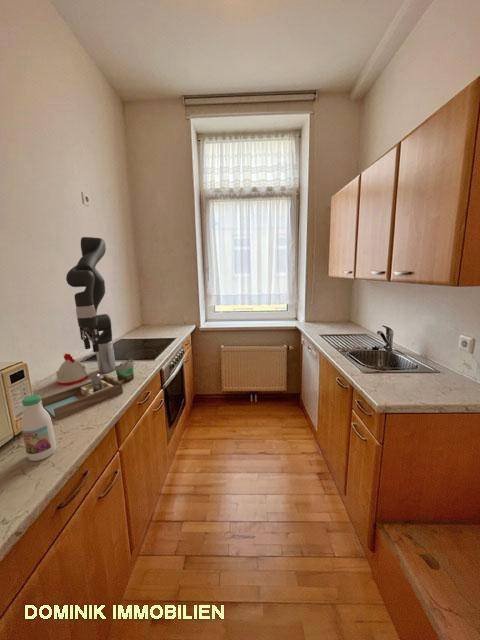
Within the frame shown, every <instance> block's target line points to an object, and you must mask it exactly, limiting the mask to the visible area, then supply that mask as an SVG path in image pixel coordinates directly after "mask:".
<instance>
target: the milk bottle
mask: <svg viewBox="0 0 480 640" xmlns="http://www.w3.org/2000/svg"><path fill="white" fill-rule="evenodd" d="M41 399H42V396H41V395H40V394H33V395H29V396H26V397H24V398H23V399H22V400H21V402H22V406H23V408H24V411H23V416H22V419H21V431H22V432H21V433H22V438H23V442H24V446H25V452H26V455H27V459H28V460H29V461H31V462H38V461H42V460H45V459H47V458H49V457H50V456H52V455H54V453H55V452H56V451H57V442H56V436H55V431H54V426H53V422H52V418H51V415H50V414H49V413H48V412H47V411H46V410H45V409H44V408H43V405H42V400H41Z"/></svg>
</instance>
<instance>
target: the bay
mask: <svg viewBox="0 0 480 640" xmlns="http://www.w3.org/2000/svg"><path fill="white" fill-rule="evenodd" d="M100 380H103V381H105V382H107V383H109V384H111V385H113V387H110V388H108V389H105V390H102V391H100V392H97V393H94V394H92V395H89V396H85V395H83V394H82V393H81V388H80V387H83V386H86V385H88V384H91V383H92V380H91V381H89V382H86V383H83V384H79V385H77V386H74V387H71V388H69V389H66V390H61V391H59V392H57V393H53V394H50V395H48V396H44V397H41V401H42V402H41V405H42V406H43V408H44V409H45V410H46V411H47V412H48V413H49V415H50V417H52V418H53V419H55V421H58V420H60V419H63V418H64V417H68V416H70V415H72V414H74V413H77V412H80V411H83V410H84V409H87V408H89V407H92V406H94V405H96V404H99V403H103V402H104V401H106V400H109V399H111V398H114V397H117V396H119V395H122V394H123V393H124V391H123V383H122V382H120V381H118V379H115V378H114V377H112V376H109V375H107V374H104V375H103V376H102V377H100Z"/></svg>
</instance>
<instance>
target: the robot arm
mask: <svg viewBox="0 0 480 640" xmlns="http://www.w3.org/2000/svg"><path fill="white" fill-rule="evenodd" d="M106 249H107V248H106V242H105V240H104V239H103V238H101V237H92V236H90V237H89V236H82V237H81V238H80V251H81V258H80V259H79V260H78V262H77V263H76V265H74V266H73V267H72V268H71V269H69V271H68V272H67V274H66V279H65V280H66V283H67V284H68V285H69V286H70V287H72V288H83V287H85V289H84V290H83V291H81V292H79V291H78V292H77V293H75V294H74V301H75V313H76V318H77V325H78V328H79V334H80V340H82V342H83V344H84V349H85V350H89V349H91V344H92V352H93V353H95V354H96V361H97V369H98V373H99V374H101V373H102V374H105V373H106V374H107V373H111V372H114V371H116V370H115V366H117V365H116V358H115V350H114V342H113V330H112V321H111V318H110V315H109V314H108V313H103V314H98V313H97V312H98V308H99V305H100V303H101V302H102V300H103V299H104V296H105V294H106V284H105V279H104V277H103V276H102V274H101V273H100V272H99V271H98V270H97V268H96V266H97V264H98V263H99V262H100V260H101V259H102V258H103V257H104V256H105V254H106ZM100 332H101V333H100Z"/></svg>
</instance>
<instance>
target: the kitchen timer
mask: <svg viewBox="0 0 480 640" xmlns="http://www.w3.org/2000/svg"><path fill="white" fill-rule="evenodd" d="M63 358H64V362H63V363H62V364H61V365H60V366H59V368H58V371H56V381H57V385H58V386H62V387H63V386H65V387H67V386H72V385H76V384H79V383H82V382H84V381H85V380H87V379H88V373H87V371H86V367H85V365H83V364H82V363H81V362H79V361H78V360H76V359H75V358H73V356H71V354H70V353H67V352H66V353H64V355H63Z"/></svg>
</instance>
